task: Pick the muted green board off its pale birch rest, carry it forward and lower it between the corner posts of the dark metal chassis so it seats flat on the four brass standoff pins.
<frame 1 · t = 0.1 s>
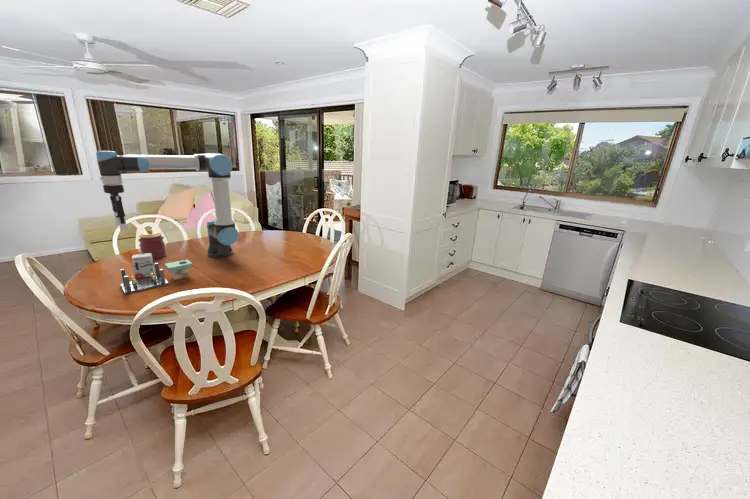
hand: (121, 227, 155), 28 cm above the table, fingers open, 13 cm apart
rest: (180, 277, 168), on the table
ink box: (145, 276, 168), on the table
canister: (154, 256, 196), on the table
chassis: (145, 285, 157), on the table
board: (179, 267, 166), point 6 cm above the table, touching rest
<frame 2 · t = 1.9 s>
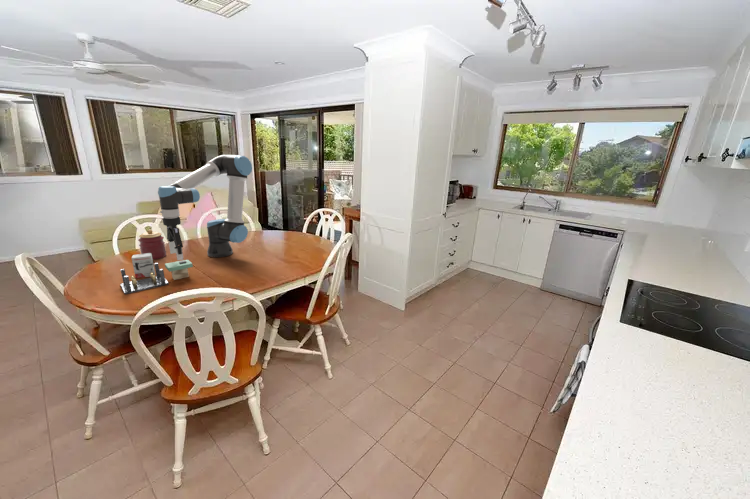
hand: (176, 256, 164), 12 cm above the table, fingers open, 13 cm apart
nothing on the table moved.
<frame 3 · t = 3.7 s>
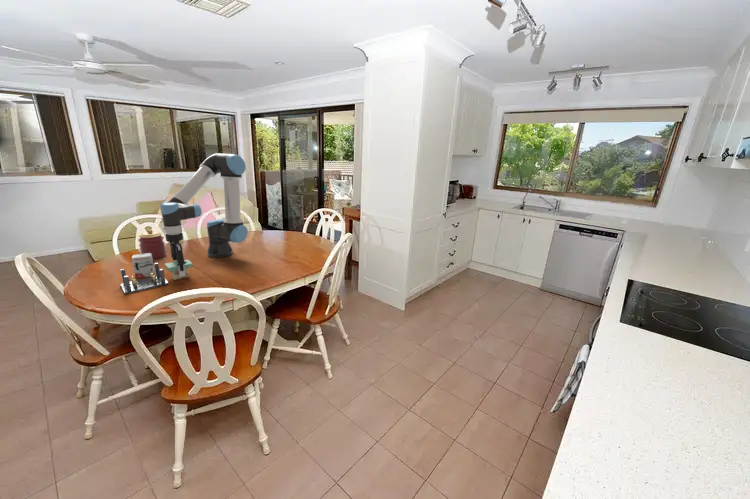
hand: (180, 273, 167), 2 cm above the table, fingers closed on board, 8 cm apart
board: (179, 267, 166), point 6 cm above the table, touching gripper, rest
everything else where it was.
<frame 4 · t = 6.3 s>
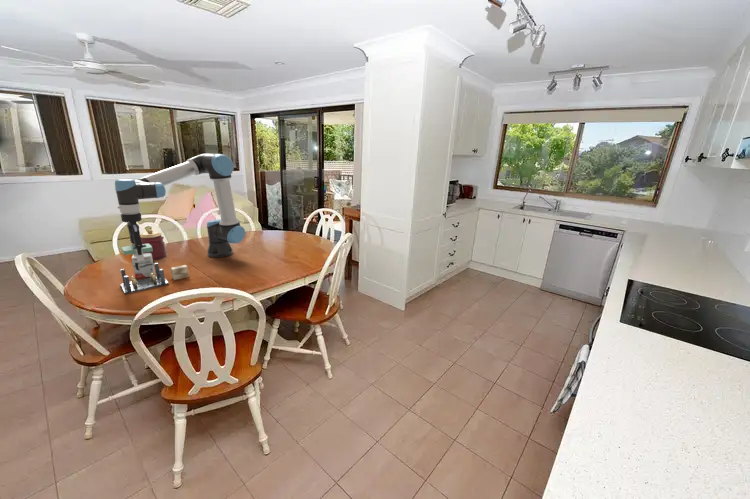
hand: (139, 258, 152), 15 cm above the table, fingers closed on board, 8 cm apart
board: (137, 251, 151), point 18 cm above the table, touching gripper
everything else where it was.
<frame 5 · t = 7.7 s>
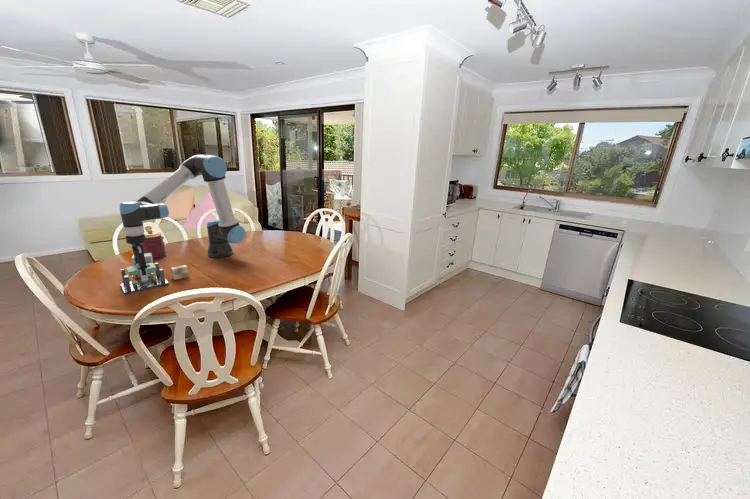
hand: (143, 277, 156), 4 cm above the table, fingers closed on board, 8 cm apart
board: (141, 270, 154), point 8 cm above the table, touching gripper
everything else where it was.
when the fingers open (3 cm above the table, at t = 8.8 s): board drops 1 cm, resting on chassis.
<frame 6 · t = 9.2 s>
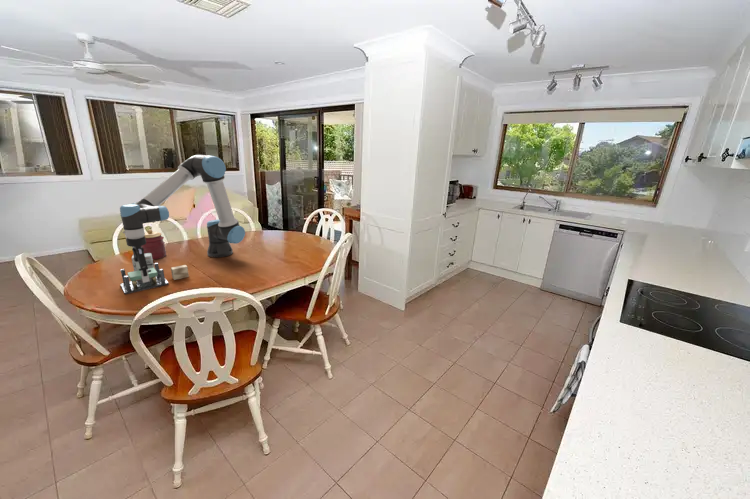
hand: (143, 277, 156), 4 cm above the table, fingers open, 13 cm apart
board: (143, 276, 155), point 5 cm above the table, touching chassis
everything else where it was.
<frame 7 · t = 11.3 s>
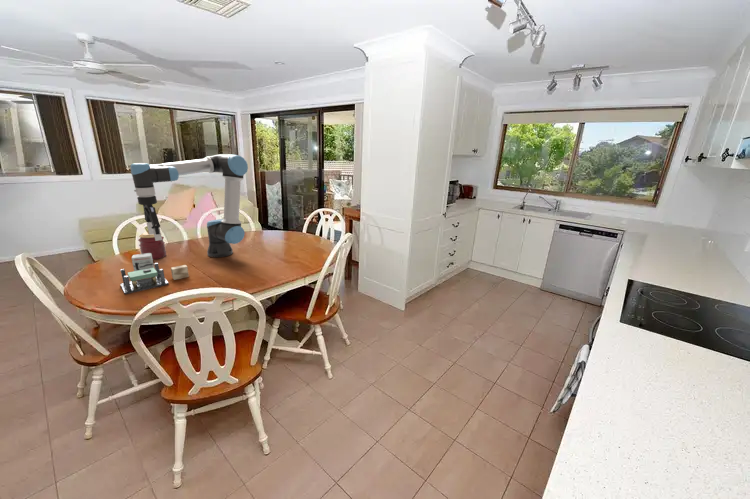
hand: (155, 237, 159), 23 cm above the table, fingers open, 13 cm apart
nothing on the table moved.
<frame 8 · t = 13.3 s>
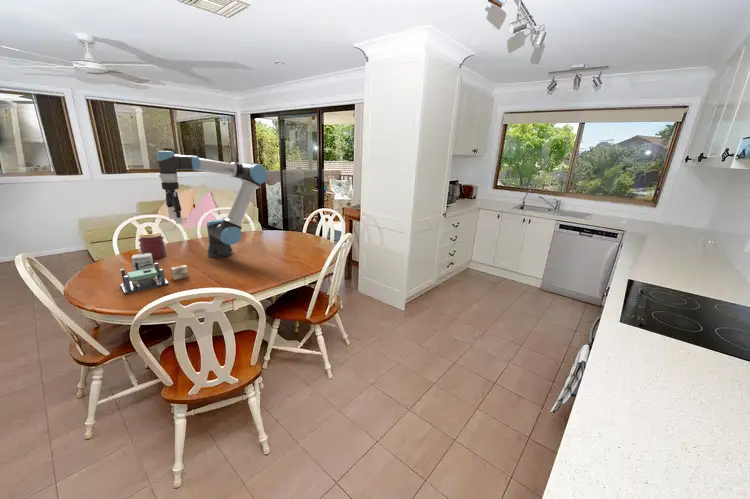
hand: (175, 221, 169), 29 cm above the table, fingers open, 13 cm apart
nothing on the table moved.
at the end: board 0.0 cm off-centre on the chassis, point 5.0 cm above the chassis's base; board tilted 0°; the gripper is holding nothing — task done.
